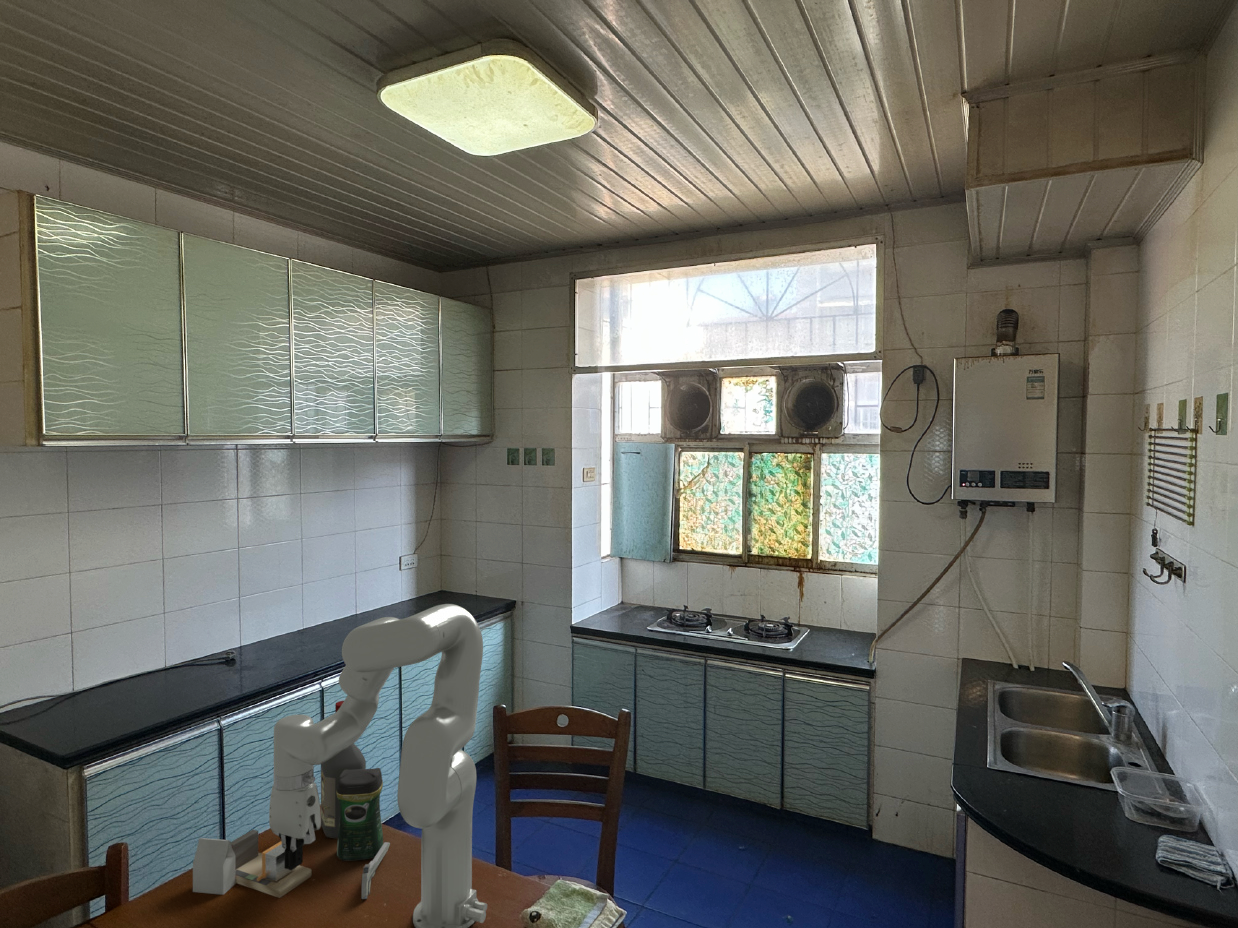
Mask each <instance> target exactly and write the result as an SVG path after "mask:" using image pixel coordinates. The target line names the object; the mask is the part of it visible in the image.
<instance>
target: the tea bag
mask: <svg viewBox="0 0 1238 928" xmlns="http://www.w3.org/2000/svg"><path fill="white" fill-rule="evenodd" d="M231 842H232V841H231V840H230V839H220V838H219V839H218V838H209V837H208V838H205V837H200V838H198V842H197V847H196V850H195V854H194V857H193V861H192V892H193V893H200V894H201V893H203V894H209V895H210V894H211V895H213V894H214V895H225V894H227V892H229V890H230V889H232V888H233V887H234V886H235V885H236V883H235V853H234V851H233V849H232V846H231Z"/></svg>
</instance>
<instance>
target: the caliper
mask: <svg viewBox="0 0 1238 928" xmlns="http://www.w3.org/2000/svg"><path fill="white" fill-rule="evenodd" d="M390 845H391V843H390V842H387V841H386V842H385V841H383V845H382V847H381V848H380V850H379V852H378V853H377V855H376V856H375V857H373V858H372V860H371V861H370V862H369V863H368V864H365V865H364V866H363V869H362V875H361V900H368V896H369V895H370V893H371V884H372V878H374V877H375V875H376V870H377V869H378V867H379V866H380V863H381V862H382V860H383V859H384V857H385V855H386V854H387V853H388V850H389V847H390Z"/></svg>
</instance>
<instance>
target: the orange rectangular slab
mask: <svg viewBox="0 0 1238 928" xmlns="http://www.w3.org/2000/svg"><path fill="white" fill-rule="evenodd" d="M281 844H282V841H281V840H280V841H279V842H277V843H276V844H274V845H272V846H271V847H269V848H267V849H266V850H264V851H263V852H261V853H262V875H261V876H259V877H258V878H257V881H260V880H261V879H263V878H264V877H265V878H266V853H268V852H269V851H271V850H272V849H274V848H276V847H277V846H279V845H281Z"/></svg>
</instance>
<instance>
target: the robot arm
mask: <svg viewBox="0 0 1238 928" xmlns="http://www.w3.org/2000/svg"><path fill="white" fill-rule="evenodd" d="M440 653H441V655H440V656H441V657H440V660H439V662H438V663H439V664H438V667H437V669H436V673H435V676H434V683H433V695H432V701H431V704H430V707H429V708H428V709H427V710H426V711H425V712H424V713H422V714H421V715H419V716H417V717H416V718H415V719H414V720H413V721H412V722H411V724H410V725H409V726H408V728H407V730H406V732H405V734H404V737H403V740H402V746H401V753H400V763H399V773H398V774H399V775H398V784H397V805H398V810H399V813H400V815H401V817H402V818H403V820H404V821H405V822H406V823H407V824H408V825H409V826H410V827H413V828H416V829H421V842H420V843H421V849H420V851H421V864H420V865H421V866H420V867H421V870H420V871H421V872H420V873H421V874H420V875H421V880H420V881H421V888H420V890H421V893H420V896H421V897H420V899H421V900H420V901H419V903H417V905H416V906H415V907H414V910H413V914H412V923H413V925H414V928H470V926H472V925H474V923H475V922H477V923H480V924H483V923H484V922H485V920H486V916H487V912H486V911H487V909H488V904H487V903H486V902H482V901H479V899H478V898H477V890H476V889H473V887H472V886H473V885H472V884H473V882H472V881H473V877H472V876H473V871H472V870H473V868H472V866H473V865H472V864H473V858H472V857H473V851H472V849H473V846H472V845H473V840H472V839H473V814H474V813H473V811H474V810H473V808H474V800H475V795H476V787H477V769H476V765H475V762H474V760H473V758H472V757H471V756H470V755H469V754H468V753H467V752H466V751H465V750H462V749H463V748H465V746H466V745H467V744H468V743H469V742H470V741H471V739H472V738H473V736H474V733H475V731H476V725H477V723H476V722H477V713H478V712H477V711H478V703H479V694H480V679H481V672H482V664H483V656H484V654H483V653H484V641H483V635H482V631H481V628H480V625H479V624H478V622H477V620H476V618H475V617H474V616H473V615H472V614H471V613H470V612H469V611H468V610H467V609H465V608H464V607H462V606H459V605H457V604H453V603H444V604H438V605H434V606H433V607H430V608H427V609H425V610H423V611H419V612H418V613H416V614H413V615H410V616H408V617H405V618H400V619H399V618H398V617H394V616H384V617H381V618H377V619H374V620H372V621H369V622H366V623H365V624H362V625H359V626H357V627H355V628H353V629H352V630H350V632H349V633H348V634H347V635H346V637H345V638H344V641H343V643H342V646H341V656H342V657H341V658H342V660H343V662H344V664H345V666H344V667H343V669H342V671H341V673H340V674H339V677H338V685H339V688H340V689H341V690H342V692H344V694H345V695H347V696H346V697H345V699H344V700H343V701H344V702H343V704H342V705H341V707H340V708H339V710H338V711H337V712H336V713H335V712H334V713H333V714H330V715H329V716H328V717H326V718H324V719H322V720H320V721H318V722H316V723H314V720H313V719H312V717H311V716H310V715H307V714H292V715H287V716H284V717H282V718H280V719H279V720H277V721H276V723H275V724H274V727H273V784H272V787H271V790H270V791H271V793H270V798H269V809H268V810H269V812H268V823H269V828H270V830H271V831H272V833H273V834H274V835H276V836H278V837H279V839H280V841H282V847H283V849H285V869H289V870H293V869H294V868H296V867H297V866H299V865H300V866H301V865H302V863H303V860H304V858H303V857H304V855H303V853H304V851H303V850H304V849H303V848H304V846H305V845H310V844H313V843H314V842H315V841H316V834H315V831H319V830H320V829H321V827H322V825H321V800H320V794H319V790H318V786H317V783H316V777H315V776H314V768H315V767H314V766H319V765H321V764H322V763H324V762H326V761H328V760H329V759H331V758H332V757H334V756H335V755H337V754H338V753H340V752H341V751H343V750H344V749H346V748H348V747H349V746H351V745H352V744H355V743H356V742H357V741H358V740H359V739H360V738H361V736H362V735H363V734H364V732H365V731H366V729H367V728H368V727H369V725H370V723H371V722H372V720H373V718H374V717H375V715H376V713H377V710H378V708H379V707H378V706H379V700H380V692H381V690H382V689H383V687H384V685H385V684H386V682H387V680H388V679H389V677H390V676H391V674H392V673H393V671H394V670H395V668H400V667H405V666H406V667H407V666H411V665H415V664H419V663H421V662H422V663H423V662H424V661H427V660H429V659H430V658H433V657H435V656H436V655H437V654H438V655H439V654H440Z"/></svg>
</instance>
